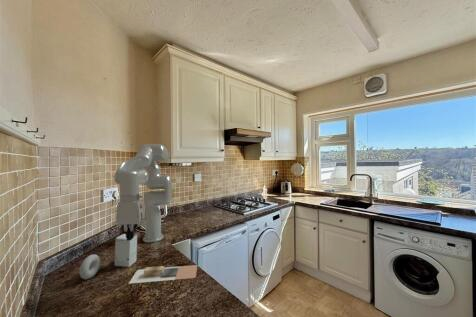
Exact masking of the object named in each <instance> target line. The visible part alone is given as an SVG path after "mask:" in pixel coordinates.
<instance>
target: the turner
mask: <svg viewBox="0 0 476 317" xmlns="http://www.w3.org/2000/svg"><path fill="white" fill-rule="evenodd" d="M164 268H165V266H164V265H161V266H160V265H159V266H147V267H145V268H144V269H145V270H144V277H153V276H161V278H163V277H175V276H176V275H177V272H178V268H167V269H164Z"/></svg>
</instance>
